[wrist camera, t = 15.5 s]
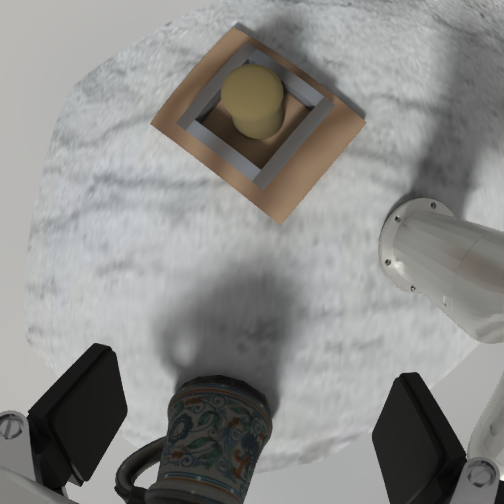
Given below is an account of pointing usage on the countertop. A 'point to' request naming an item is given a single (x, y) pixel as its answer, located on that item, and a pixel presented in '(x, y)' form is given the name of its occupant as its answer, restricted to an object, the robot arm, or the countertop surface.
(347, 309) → the countertop surface
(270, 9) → the countertop surface
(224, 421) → the beer stein
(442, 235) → the robot arm
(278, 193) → the shaker holder
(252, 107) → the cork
